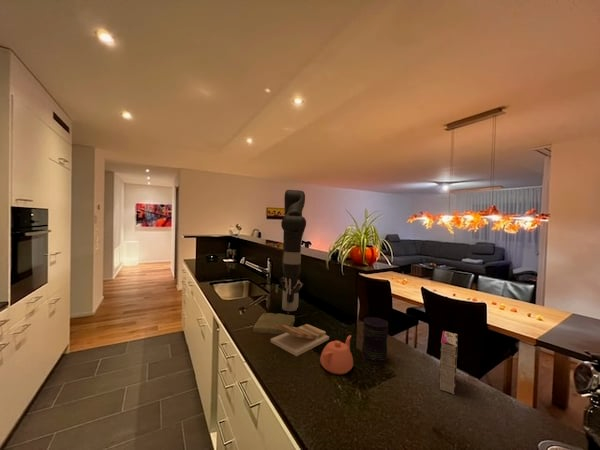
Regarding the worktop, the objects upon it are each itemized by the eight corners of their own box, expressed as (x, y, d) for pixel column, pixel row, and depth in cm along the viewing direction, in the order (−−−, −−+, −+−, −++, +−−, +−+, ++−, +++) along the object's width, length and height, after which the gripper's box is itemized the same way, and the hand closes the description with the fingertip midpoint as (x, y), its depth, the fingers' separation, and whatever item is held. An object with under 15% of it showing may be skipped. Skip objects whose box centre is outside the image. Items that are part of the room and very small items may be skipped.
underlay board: (303, 328, 130) (303, 325, 130) (329, 339, 119) (329, 336, 119) (270, 342, 114) (270, 338, 114) (296, 356, 103) (296, 352, 103)
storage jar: (369, 349, 112) (371, 315, 112) (391, 358, 105) (392, 322, 105) (356, 356, 105) (358, 320, 105) (378, 367, 98) (381, 328, 98)
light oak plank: (306, 326, 128) (306, 323, 128) (325, 334, 120) (325, 331, 120) (297, 330, 124) (297, 327, 124) (316, 339, 115) (317, 335, 115)
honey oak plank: (296, 330, 123) (297, 327, 123) (315, 339, 115) (316, 336, 115) (275, 327, 113) (276, 323, 113) (294, 336, 104) (295, 332, 105)
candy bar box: (439, 373, 96) (442, 330, 95) (455, 378, 93) (458, 333, 93) (437, 389, 86) (440, 341, 86) (455, 395, 83) (458, 345, 83)
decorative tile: (252, 333, 123) (252, 325, 123) (262, 317, 143) (263, 311, 143) (290, 336, 121) (291, 329, 121) (295, 320, 141) (296, 314, 141)
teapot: (310, 368, 95) (311, 342, 95) (337, 351, 109) (338, 329, 108) (337, 383, 87) (338, 355, 87) (363, 363, 100) (364, 339, 100)
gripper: (309, 263, 108) (307, 304, 108) (287, 259, 117) (285, 297, 117) (297, 265, 103) (295, 308, 103) (275, 260, 112) (273, 300, 112)
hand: (290, 302), depth 110 cm, fingers closed
